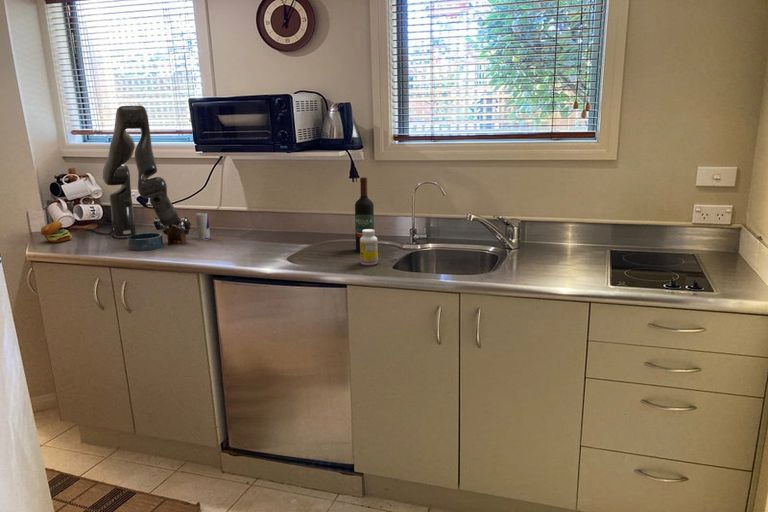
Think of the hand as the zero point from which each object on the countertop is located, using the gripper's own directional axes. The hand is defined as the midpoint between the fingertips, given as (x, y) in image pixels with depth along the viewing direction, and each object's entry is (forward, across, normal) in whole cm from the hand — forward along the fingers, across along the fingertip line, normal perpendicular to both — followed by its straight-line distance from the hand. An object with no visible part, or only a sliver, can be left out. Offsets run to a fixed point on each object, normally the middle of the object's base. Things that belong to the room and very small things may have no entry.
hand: (177, 233), depth 250 cm
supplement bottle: (-24, -84, +31) cm, 92 cm away
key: (+3, 0, +3) cm, 4 cm away
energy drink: (+8, -9, -1) cm, 13 cm away
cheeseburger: (+10, +57, -3) cm, 58 cm away
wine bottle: (-9, -82, +16) cm, 84 cm away
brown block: (+3, 0, +4) cm, 5 cm away
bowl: (-2, +11, +9) cm, 14 cm away
